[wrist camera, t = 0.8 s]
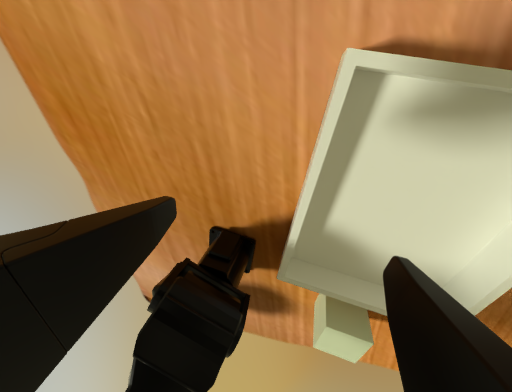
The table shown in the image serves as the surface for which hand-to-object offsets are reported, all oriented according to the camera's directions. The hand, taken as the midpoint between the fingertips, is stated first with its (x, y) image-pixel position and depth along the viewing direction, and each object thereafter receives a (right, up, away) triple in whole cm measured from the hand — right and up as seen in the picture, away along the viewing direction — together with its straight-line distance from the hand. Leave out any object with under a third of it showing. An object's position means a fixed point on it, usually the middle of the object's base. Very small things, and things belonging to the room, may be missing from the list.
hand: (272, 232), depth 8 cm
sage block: (+11, -13, +20) cm, 26 cm away
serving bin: (+13, +1, +12) cm, 17 cm away
